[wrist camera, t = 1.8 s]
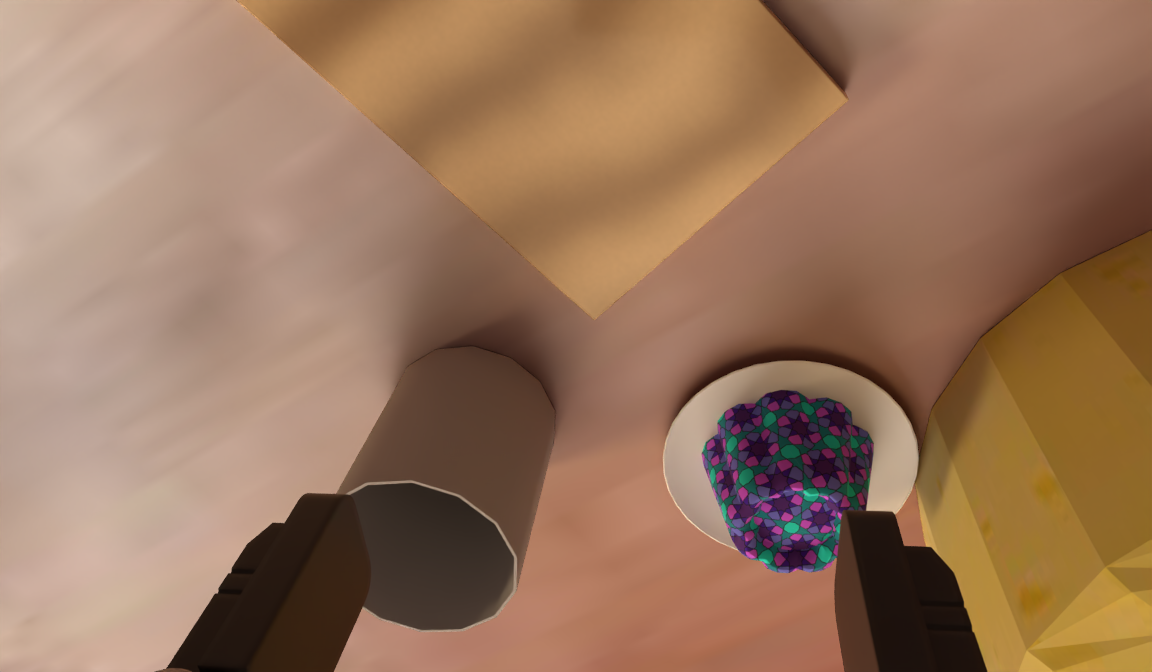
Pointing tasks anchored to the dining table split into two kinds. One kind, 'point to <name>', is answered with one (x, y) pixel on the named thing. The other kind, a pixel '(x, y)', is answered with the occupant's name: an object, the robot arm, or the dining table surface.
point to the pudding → (788, 459)
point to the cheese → (1053, 474)
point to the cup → (451, 488)
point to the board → (573, 113)
